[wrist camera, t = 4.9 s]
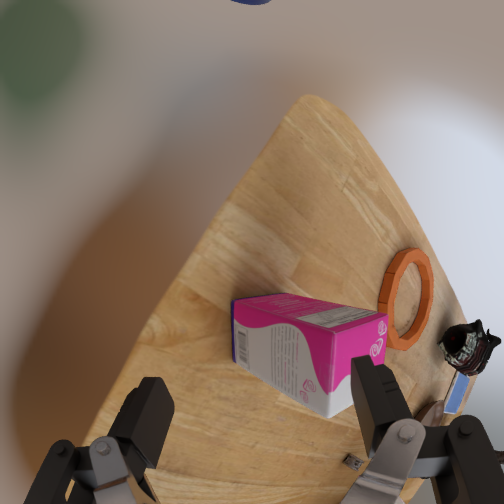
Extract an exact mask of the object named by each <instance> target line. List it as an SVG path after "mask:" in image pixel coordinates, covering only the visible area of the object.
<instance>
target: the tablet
mask: <svg viewBox="0 0 504 504" xmlns="http://www.w3.org/2000/svg"><path fill="white" fill-rule="evenodd" d="M469 380H470V379H469V377H468V376H465V375H463V374H461V373H460V372H458V371H457V372H456V375H455V377H454V379H453V382H452V384H451V387H450V389H449V392H448V394H447V397H446V399H445V402H444V403H445V409H444V413H448V414H456V412H457V410H458V408H459V406H460V403H461V401H462V398H463V396H464V393H465V391H466V388H467V385H468V383H469Z"/></svg>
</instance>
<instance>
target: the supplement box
mask: <svg viewBox="0 0 504 504" xmlns="http://www.w3.org/2000/svg"><path fill="white" fill-rule="evenodd" d="M388 318H389V314H386V313H381V312H376V311H371V310H366V309H361V308H356V307H351V306H346V305H341V304H336V303H331V302H325V301H321V300H316V299H312V298H307V297H302V296H298V295H293V294H289V293H279V294H272V295H264V296H256V297H248V298H241V299H235V300H232V301H231V320H232V349H233V362H235V363H237V364H238V365H239V366H241V367H242V368H244V369H245V370H247V371H249V372H250V373H252V374H253V375H255V376H256V377H258V378H259V379H261V380H262V381H264V382H266V383H267V384H269V385H270V386H272V387H274V388H275V389H277V390H279V391H280V392H282V393H283V394H285V395H287V396H288V397H290V398H292V399H293V400H295V401H297V402H299V403H300V404H302V405H304V406H305V407H307V408H309V409H311V410H312V411H314V412H316V413H318V414H320V415H321V416H323V417H325V418H331V417H332V416H334V415H336V414H338V413H339V412H341V411H343V410H344V409H346V408H348V407H349V406H351V405H352V404H354V402H353V399H352V394H351V386H350V381H351V358H354V357H359V356H363V355H368V354H369V355H370V356H371V359H372V361H373V363H374V366H375V365H380V364H384V358H385V350H386V340H387V329H388Z"/></svg>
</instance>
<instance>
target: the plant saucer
mask: <svg viewBox="0 0 504 504" xmlns="http://www.w3.org/2000/svg"><path fill="white" fill-rule="evenodd" d="M444 409H445V403H444V401H443V400H439V401H435V402H433V403H430V404H428V405H427V406H425V407H424V408H423V409H422V410H421V411H420V412H419V413H418V415H417V416H416V417H415V420H417V421H419V422H420V423H421V424H422V425H425V426H430V427H435V426H440V423H441V421H442V417H443V414H444Z"/></svg>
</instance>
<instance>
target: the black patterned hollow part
mask: <svg viewBox="0 0 504 504" xmlns="http://www.w3.org/2000/svg"><path fill="white" fill-rule="evenodd" d="M486 334H487V335H486ZM486 334H485V332H484V330H483V327H482V322H481V320H480V319H478V320H476V321H475V322H473V323H470V324H459V325H455V326H452V327H450V328H449V329H448V330H447V331H445V334H444V336H443V338H442V340H441V341H440V342H439V344H438V343H437V344H438V346H439V347H440V349H441V350H442V351H443V353H444V355H445V360H446V361H448V364H450V365H451V366H452V367H454V368H455V369H456V370H457V371H458V372H460V373H461V374H463V375H465V376H473V375H477V374H479V373H481V372H482V371H483V370H484V368H485V366H486V364H487V363H488V361H487V360H489V358H490V356H491V353H492V351H493V349H494V348H495V347H496V346H497V345H499V344H500V343H501V339H500V338H499V337H496V336H494V335H491V334H490V333H489V329H488V330H487V333H486ZM488 340H489V341H488Z"/></svg>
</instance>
